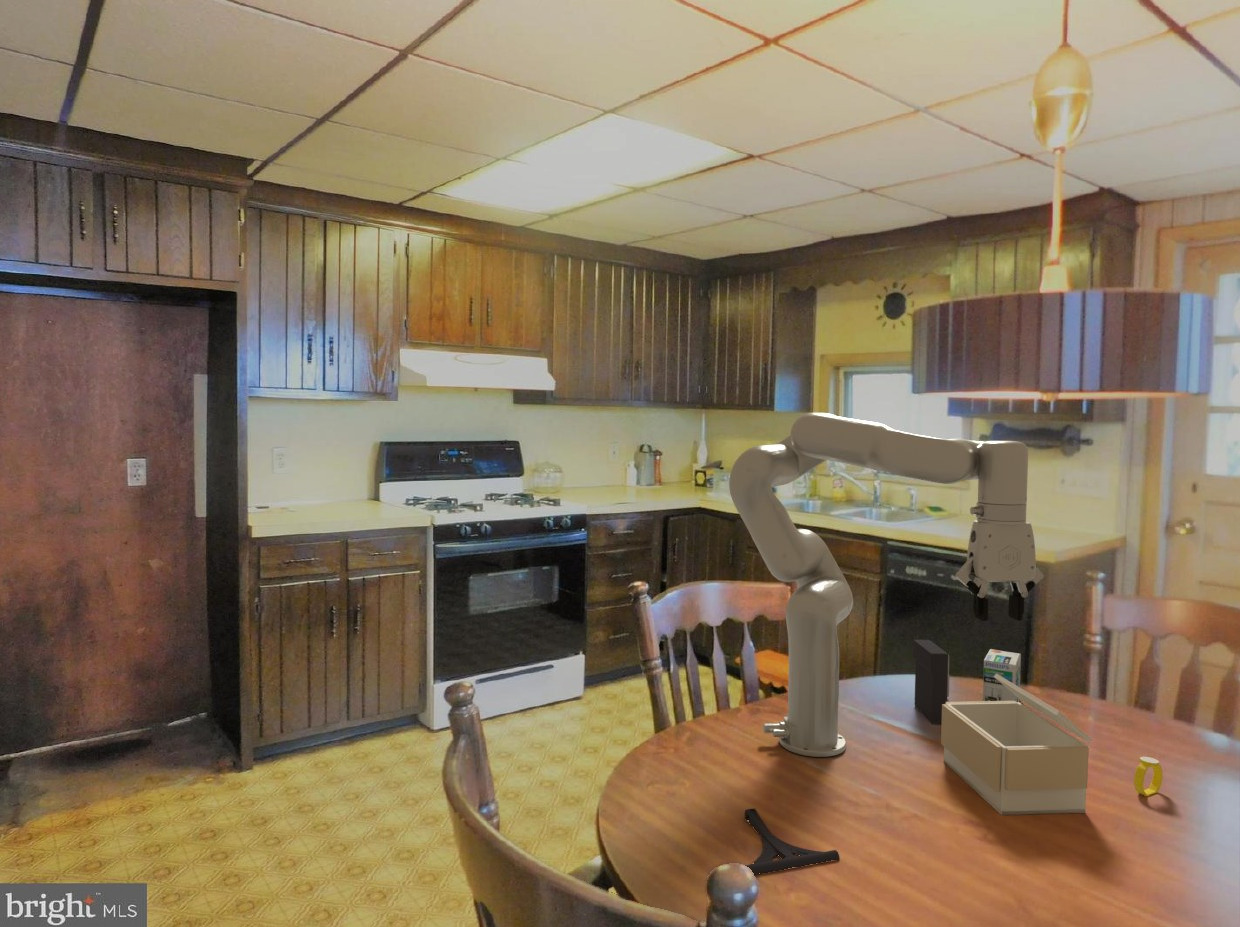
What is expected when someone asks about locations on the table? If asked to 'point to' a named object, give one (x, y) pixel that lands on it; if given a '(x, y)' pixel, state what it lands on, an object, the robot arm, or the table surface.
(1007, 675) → the light bulb box
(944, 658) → the black rectangular block
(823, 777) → the table surface
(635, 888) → the table surface
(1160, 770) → the watch
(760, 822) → the black squeegee
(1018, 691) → the carton flap
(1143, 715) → the table surface
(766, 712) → the table surface
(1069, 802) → the carton
